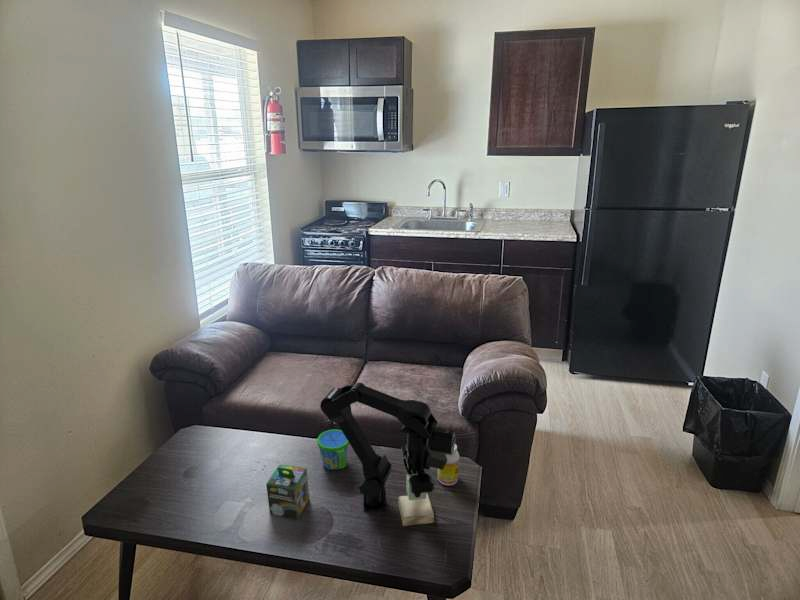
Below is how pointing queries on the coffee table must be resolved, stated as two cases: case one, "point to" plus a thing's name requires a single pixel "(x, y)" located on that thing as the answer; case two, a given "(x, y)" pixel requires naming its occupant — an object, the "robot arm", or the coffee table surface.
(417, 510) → the oak riser block
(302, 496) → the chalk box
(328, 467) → the snack cup
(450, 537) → the coffee table surface
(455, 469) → the supplement bottle
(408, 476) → the sage cube
